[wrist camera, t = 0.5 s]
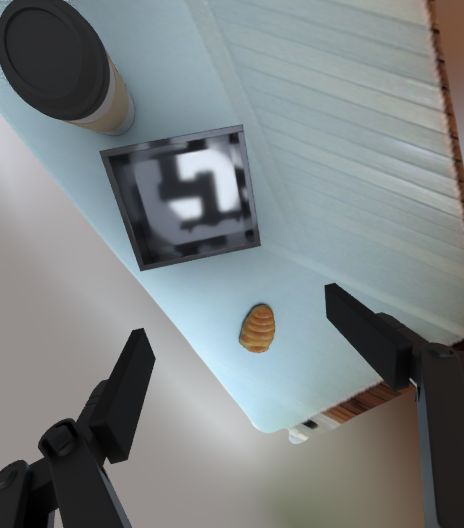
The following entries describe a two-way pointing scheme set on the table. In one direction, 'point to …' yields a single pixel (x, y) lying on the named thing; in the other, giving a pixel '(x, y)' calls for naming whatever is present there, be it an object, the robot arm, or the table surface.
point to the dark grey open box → (185, 196)
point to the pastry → (258, 329)
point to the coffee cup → (62, 66)
